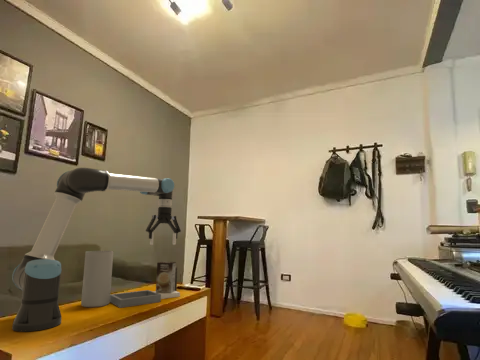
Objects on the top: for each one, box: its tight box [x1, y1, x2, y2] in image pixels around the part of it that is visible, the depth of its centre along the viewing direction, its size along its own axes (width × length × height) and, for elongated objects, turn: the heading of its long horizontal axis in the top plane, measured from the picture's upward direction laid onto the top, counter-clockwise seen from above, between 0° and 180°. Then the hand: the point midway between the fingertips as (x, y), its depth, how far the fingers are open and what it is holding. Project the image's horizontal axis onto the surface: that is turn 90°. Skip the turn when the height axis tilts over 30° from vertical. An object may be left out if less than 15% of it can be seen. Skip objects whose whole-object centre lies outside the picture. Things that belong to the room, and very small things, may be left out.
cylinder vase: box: [80, 250, 114, 308], centre depth 149 cm, size 12×12×25 cm
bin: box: [109, 289, 162, 309], centre depth 153 cm, size 20×16×4 cm
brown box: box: [175, 266, 178, 291], centre depth 185 cm, size 10×10×15 cm
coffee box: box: [155, 261, 177, 293], centre depth 169 cm, size 9×6×16 cm
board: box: [152, 290, 181, 300], centre depth 167 cm, size 12×12×2 cm
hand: (163, 244), depth 172 cm, fingers open, 13 cm apart
